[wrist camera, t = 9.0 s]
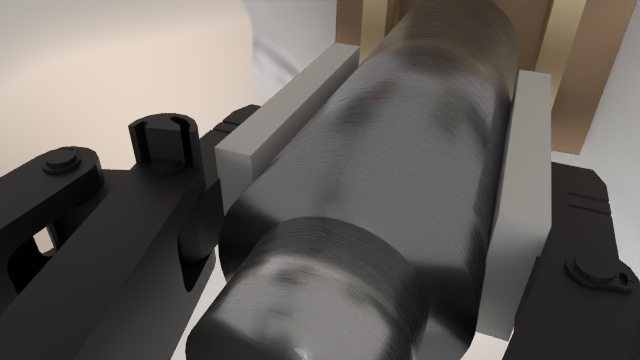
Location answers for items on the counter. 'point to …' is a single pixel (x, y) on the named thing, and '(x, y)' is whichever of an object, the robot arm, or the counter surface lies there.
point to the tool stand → (528, 49)
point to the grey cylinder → (375, 205)
